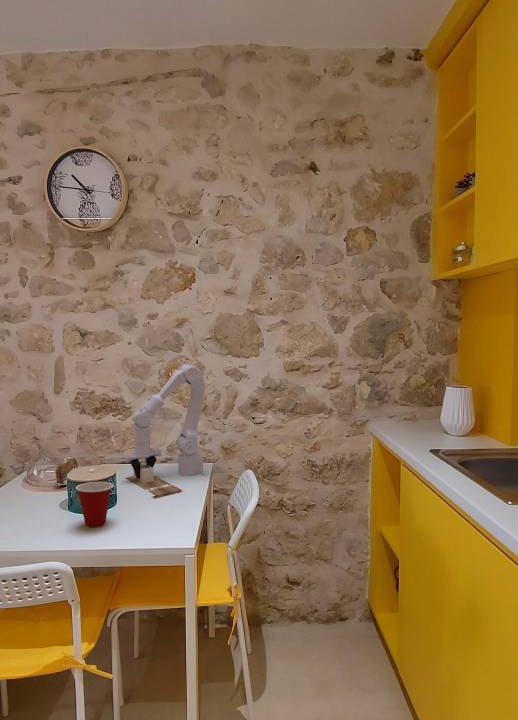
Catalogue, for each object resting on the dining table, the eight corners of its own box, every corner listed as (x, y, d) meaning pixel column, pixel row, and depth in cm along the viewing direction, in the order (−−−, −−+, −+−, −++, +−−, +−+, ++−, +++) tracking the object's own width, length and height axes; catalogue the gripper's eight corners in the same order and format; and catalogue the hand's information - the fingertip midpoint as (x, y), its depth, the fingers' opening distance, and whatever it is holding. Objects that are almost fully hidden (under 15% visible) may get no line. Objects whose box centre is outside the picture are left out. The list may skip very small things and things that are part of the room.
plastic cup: (121, 518, 155) (120, 481, 154) (100, 532, 145) (99, 492, 144) (92, 514, 158) (90, 477, 158) (69, 528, 148) (67, 488, 147)
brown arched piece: (63, 489, 184) (62, 466, 183) (54, 489, 184) (53, 466, 183) (78, 476, 199) (78, 455, 198) (71, 476, 199) (70, 455, 198)
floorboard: (148, 475, 199) (148, 472, 199) (181, 492, 179) (181, 488, 179) (124, 480, 193) (124, 477, 193) (155, 498, 173) (155, 495, 173)
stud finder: (143, 475, 196) (142, 461, 196) (153, 480, 189) (153, 466, 189) (133, 477, 194) (133, 463, 193) (143, 482, 187) (143, 468, 186)
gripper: (155, 437, 198) (155, 471, 199) (120, 443, 189) (121, 478, 190) (163, 440, 192) (164, 475, 193) (127, 446, 183) (129, 483, 184)
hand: (143, 477), depth 191 cm, fingers closed on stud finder, 4 cm apart
